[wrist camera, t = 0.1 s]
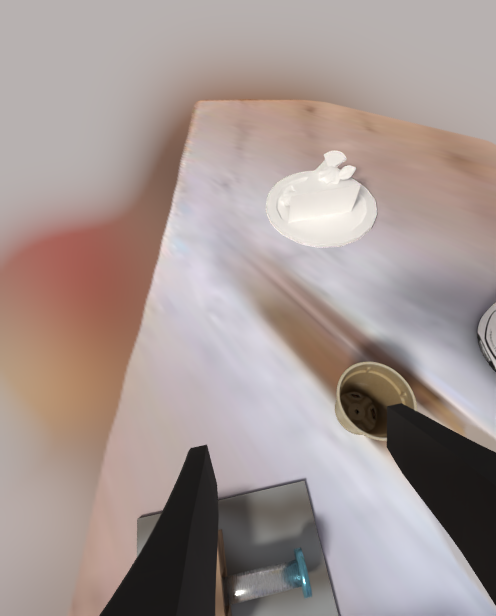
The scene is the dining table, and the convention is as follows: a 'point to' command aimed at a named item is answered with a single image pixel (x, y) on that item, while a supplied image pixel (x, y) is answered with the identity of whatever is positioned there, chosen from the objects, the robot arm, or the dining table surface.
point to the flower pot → (370, 398)
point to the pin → (268, 581)
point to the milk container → (488, 336)
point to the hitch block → (266, 549)
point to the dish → (322, 205)
